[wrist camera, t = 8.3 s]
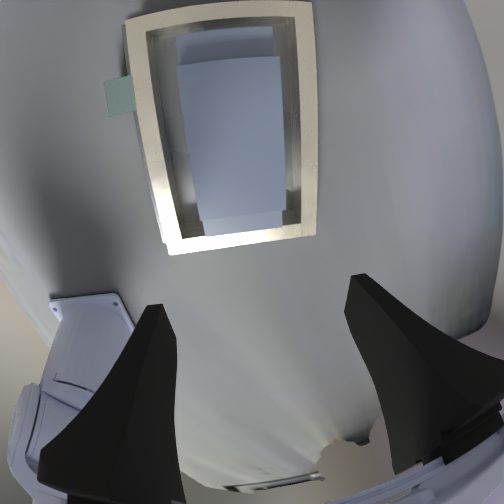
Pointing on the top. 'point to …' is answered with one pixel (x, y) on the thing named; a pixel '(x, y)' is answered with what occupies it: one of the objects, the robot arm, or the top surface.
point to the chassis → (172, 125)
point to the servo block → (234, 127)
